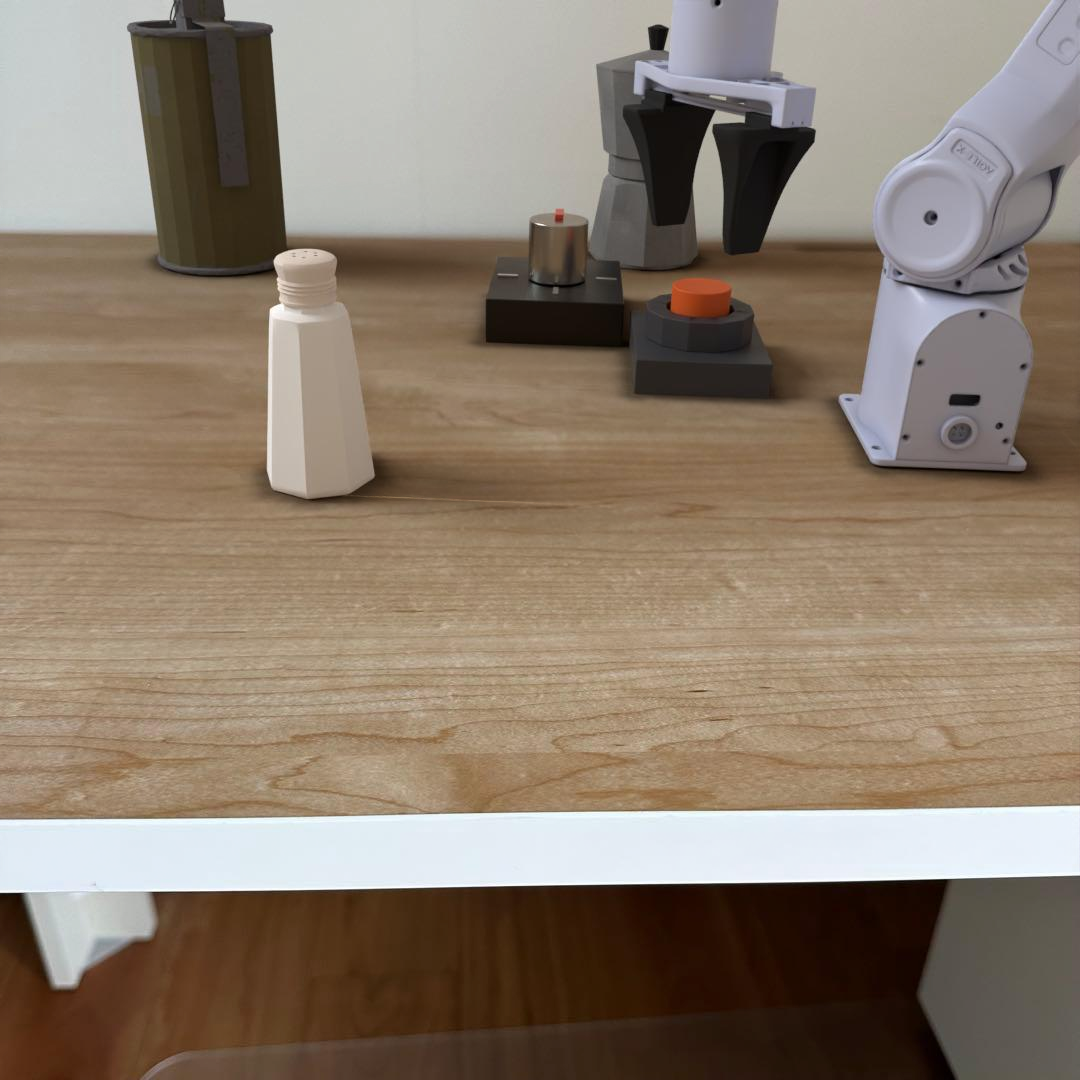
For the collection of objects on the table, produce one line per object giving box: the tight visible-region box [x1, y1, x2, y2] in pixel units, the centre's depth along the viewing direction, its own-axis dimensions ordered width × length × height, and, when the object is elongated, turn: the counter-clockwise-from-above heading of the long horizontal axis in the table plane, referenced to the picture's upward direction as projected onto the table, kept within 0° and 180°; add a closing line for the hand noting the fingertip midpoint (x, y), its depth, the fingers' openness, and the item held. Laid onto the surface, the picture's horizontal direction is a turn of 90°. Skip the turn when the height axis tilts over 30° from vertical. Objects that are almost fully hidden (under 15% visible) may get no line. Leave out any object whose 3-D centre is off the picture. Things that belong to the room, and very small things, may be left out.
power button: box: [670, 277, 733, 318], centre depth 70 cm, size 4×4×2 cm
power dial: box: [527, 208, 589, 286], centre depth 78 cm, size 4×4×4 cm
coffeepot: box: [587, 23, 711, 271], centre depth 93 cm, size 15×9×18 cm, turn 176°
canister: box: [126, 0, 290, 277], centre depth 87 cm, size 11×10×20 cm
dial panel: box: [485, 256, 625, 348], centre depth 79 cm, size 11×9×3 cm
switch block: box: [627, 293, 774, 400], centre depth 71 cm, size 10×8×4 cm
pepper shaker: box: [266, 248, 376, 500], centre depth 54 cm, size 5×5×11 cm
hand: (703, 237), depth 68 cm, fingers open, 7 cm apart
